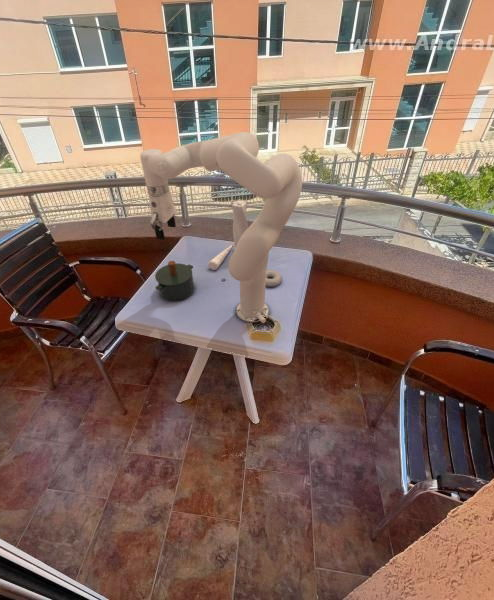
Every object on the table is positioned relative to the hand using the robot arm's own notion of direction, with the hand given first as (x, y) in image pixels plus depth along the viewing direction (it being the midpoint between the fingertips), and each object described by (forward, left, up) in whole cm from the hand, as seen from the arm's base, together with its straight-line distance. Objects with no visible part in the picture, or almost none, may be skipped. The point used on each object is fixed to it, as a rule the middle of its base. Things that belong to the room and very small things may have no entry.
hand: (166, 232), depth 122 cm
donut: (-18, -37, -28) cm, 50 cm away
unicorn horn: (+11, -29, -28) cm, 42 cm away
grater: (+23, -45, -15) cm, 53 cm away
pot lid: (0, 0, -20) cm, 20 cm away
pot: (0, 0, -28) cm, 28 cm away
